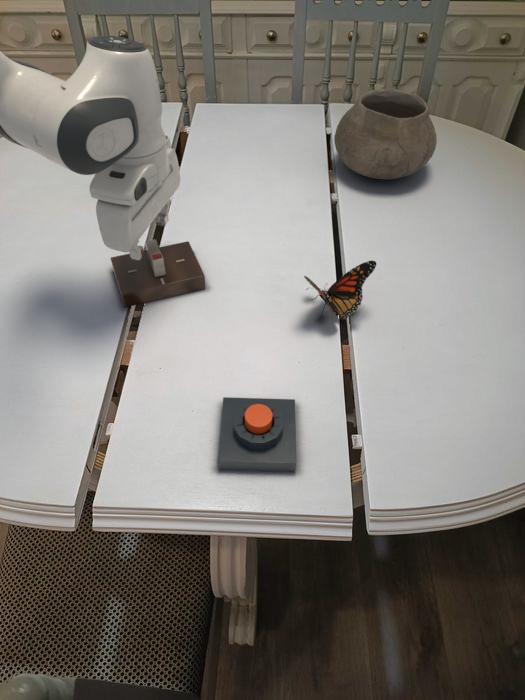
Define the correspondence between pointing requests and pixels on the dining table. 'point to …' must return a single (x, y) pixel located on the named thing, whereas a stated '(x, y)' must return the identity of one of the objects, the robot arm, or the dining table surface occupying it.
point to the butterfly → (346, 290)
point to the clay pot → (386, 134)
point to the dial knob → (155, 258)
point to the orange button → (258, 418)
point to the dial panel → (145, 287)
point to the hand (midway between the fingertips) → (150, 239)
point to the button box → (257, 437)
